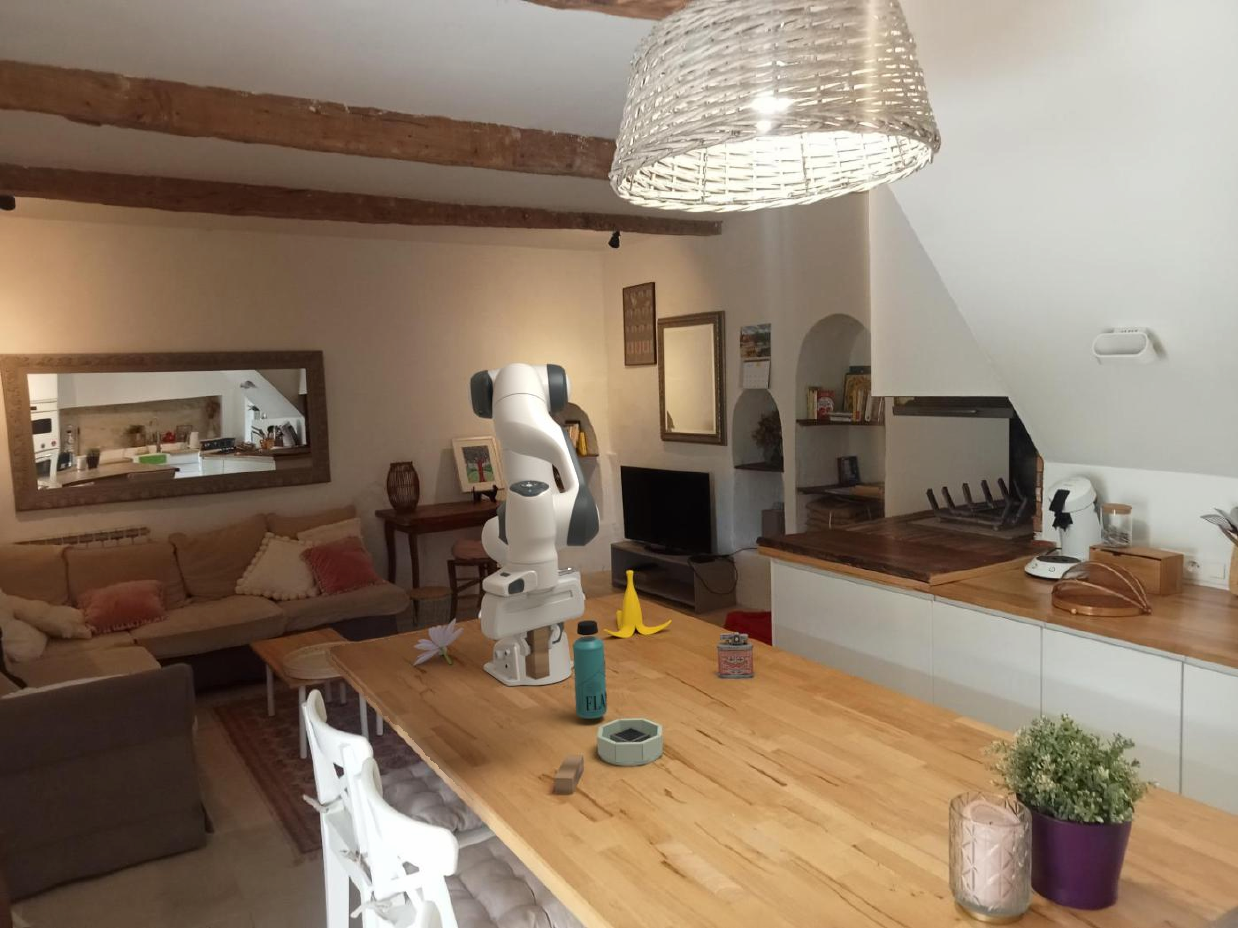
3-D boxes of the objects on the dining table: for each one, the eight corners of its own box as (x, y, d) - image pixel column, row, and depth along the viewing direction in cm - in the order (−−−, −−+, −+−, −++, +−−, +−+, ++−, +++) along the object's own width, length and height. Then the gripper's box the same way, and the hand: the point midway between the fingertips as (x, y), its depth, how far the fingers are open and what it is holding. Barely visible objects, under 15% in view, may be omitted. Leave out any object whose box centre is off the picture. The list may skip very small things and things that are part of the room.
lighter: (753, 673, 201) (752, 630, 200) (754, 679, 198) (753, 635, 197) (717, 674, 202) (716, 631, 201) (717, 679, 198) (716, 635, 197)
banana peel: (620, 621, 248) (617, 562, 246) (674, 632, 236) (671, 570, 234) (578, 636, 236) (575, 574, 234) (633, 648, 223) (630, 583, 222)
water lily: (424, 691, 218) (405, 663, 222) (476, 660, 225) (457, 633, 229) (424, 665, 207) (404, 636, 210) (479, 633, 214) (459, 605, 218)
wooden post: (525, 675, 158) (523, 626, 157) (539, 671, 160) (537, 622, 159) (536, 679, 155) (533, 629, 154) (549, 675, 157) (547, 625, 156)
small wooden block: (567, 770, 156) (566, 754, 156) (584, 771, 156) (583, 754, 156) (555, 794, 148) (554, 777, 147) (572, 795, 147) (572, 778, 147)
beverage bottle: (584, 728, 174) (579, 628, 172) (570, 717, 180) (565, 620, 178) (613, 721, 177) (609, 623, 175) (599, 710, 183) (594, 615, 181)
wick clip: (610, 748, 163) (609, 734, 162) (631, 739, 166) (631, 726, 166) (629, 756, 159) (629, 742, 158) (650, 747, 162) (650, 734, 162)
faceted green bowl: (586, 752, 163) (585, 731, 162) (632, 733, 171) (631, 713, 170) (628, 772, 154) (627, 749, 154) (676, 751, 162) (675, 729, 161)
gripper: (568, 562, 165) (571, 634, 166) (474, 582, 151) (478, 661, 153) (590, 567, 160) (593, 642, 162) (494, 588, 147) (498, 670, 148)
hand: (536, 651), depth 157 cm, fingers closed on wooden post, 3 cm apart
